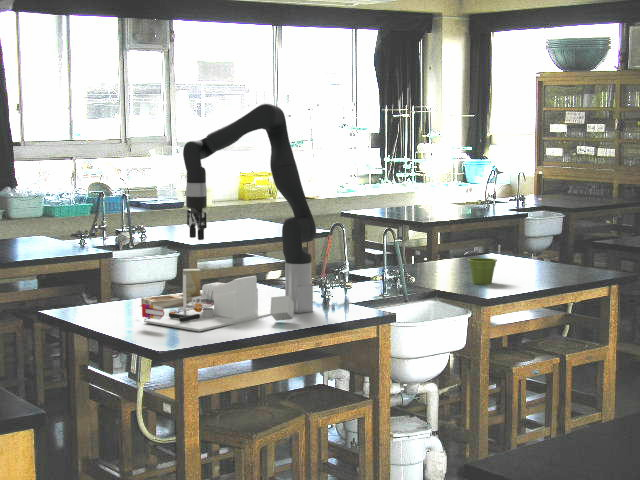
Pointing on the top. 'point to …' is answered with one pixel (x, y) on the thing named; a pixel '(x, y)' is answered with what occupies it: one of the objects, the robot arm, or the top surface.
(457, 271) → the top surface
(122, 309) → the top surface
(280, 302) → the grey cube
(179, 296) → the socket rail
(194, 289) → the skincare box
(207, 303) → the electronics kit
